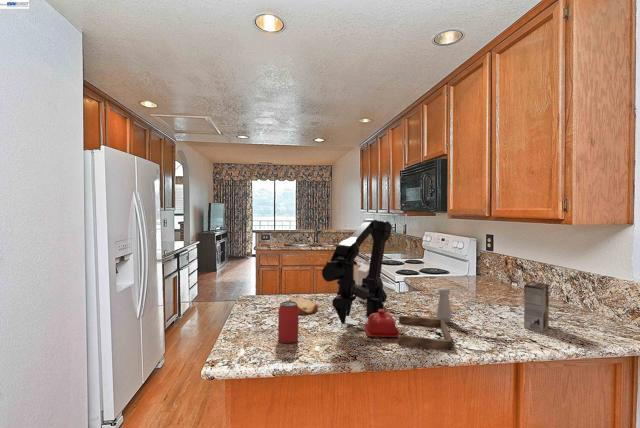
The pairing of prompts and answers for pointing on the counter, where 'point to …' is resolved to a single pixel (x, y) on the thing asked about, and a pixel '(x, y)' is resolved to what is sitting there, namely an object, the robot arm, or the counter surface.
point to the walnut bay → (425, 342)
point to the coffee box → (536, 306)
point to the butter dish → (381, 325)
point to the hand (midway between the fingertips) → (345, 319)
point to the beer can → (288, 322)
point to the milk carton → (363, 275)
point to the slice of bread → (305, 306)
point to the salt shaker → (444, 305)
